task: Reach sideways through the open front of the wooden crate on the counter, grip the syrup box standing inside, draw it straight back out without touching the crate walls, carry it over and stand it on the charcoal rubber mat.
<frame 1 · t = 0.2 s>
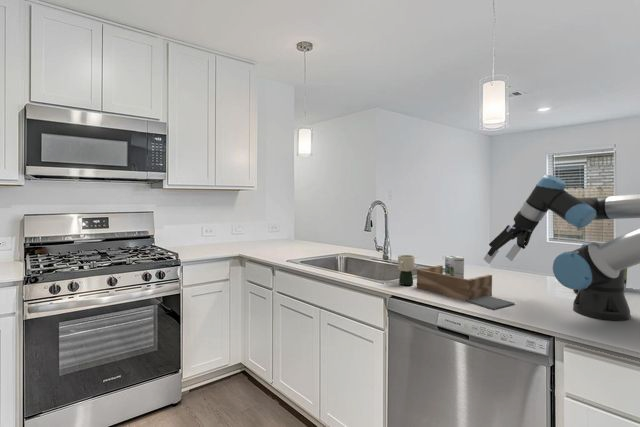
hand: (497, 259, 138), 15 cm above the worktop, tool tilted 35°, fingers open, 13 cm apart
syrup box: (453, 291, 149), on the worktop
bread roll: (588, 294, 143), on the worktop
character mug: (406, 285, 160), on the worktop
wooden crate: (453, 290, 149), on the worktop
mat: (489, 302, 132), on the worktop
tea box: (599, 288, 152), on the worktop
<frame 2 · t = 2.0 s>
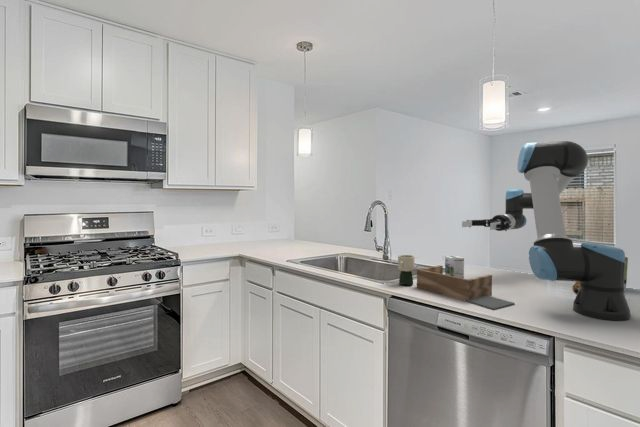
hand: (476, 225, 157), 27 cm above the worktop, tool horizontal, fingers open, 13 cm apart
nothing on the worktop moved.
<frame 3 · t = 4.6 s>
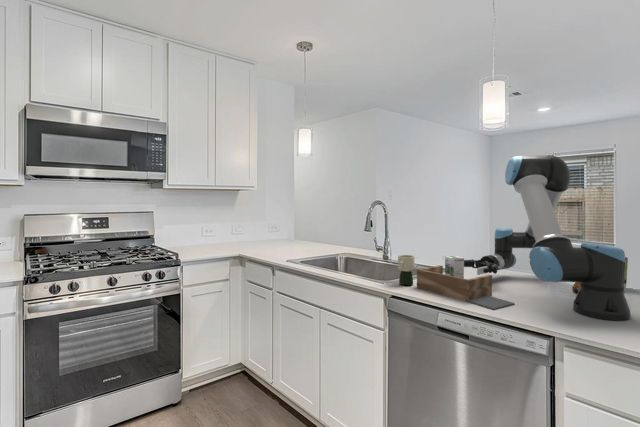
hand: (463, 268, 153), 8 cm above the worktop, tool horizontal, fingers open, 13 cm apart
nothing on the worktop moved.
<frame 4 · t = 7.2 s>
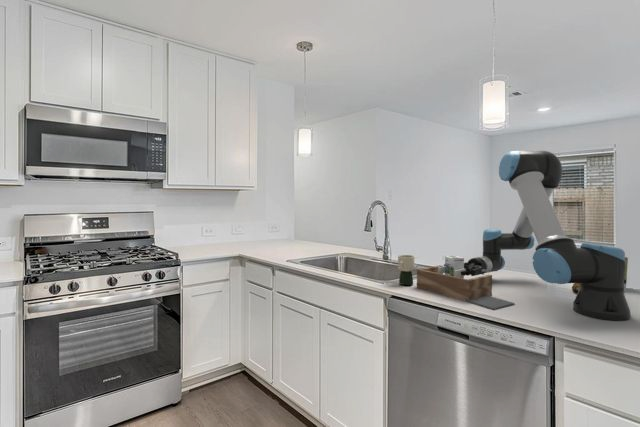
hand: (446, 272, 146), 9 cm above the worktop, tool horizontal, fingers closed on syrup box, 7 cm apart
syrup box: (453, 291, 149), on the worktop, touching gripper
everything else where it was.
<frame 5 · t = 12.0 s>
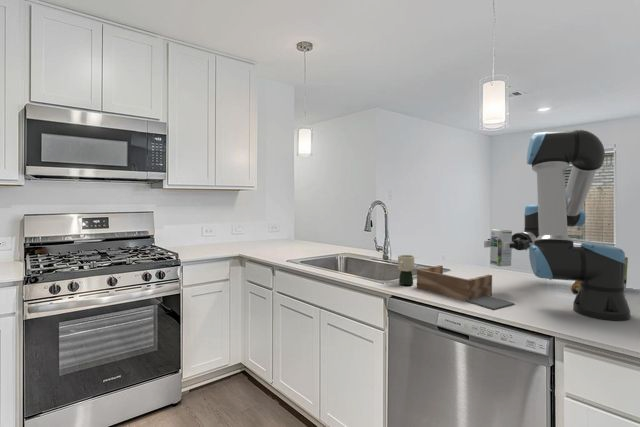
hand: (494, 245, 141), 20 cm above the worktop, tool horizontal, fingers closed on syrup box, 7 cm apart
syrup box: (500, 265, 144), point 11 cm above the worktop, touching gripper
everything else where it was.
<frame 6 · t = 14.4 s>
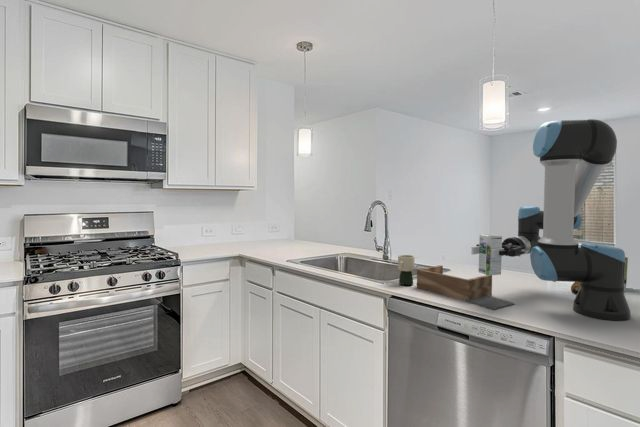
hand: (482, 252, 129), 19 cm above the worktop, tool horizontal, fingers closed on syrup box, 7 cm apart
syrup box: (489, 274, 132), point 11 cm above the worktop, touching gripper
when the fingers open (10 cm above the worktop, at t = 16.8 s): syrup box drops 1 cm, resting on mat.
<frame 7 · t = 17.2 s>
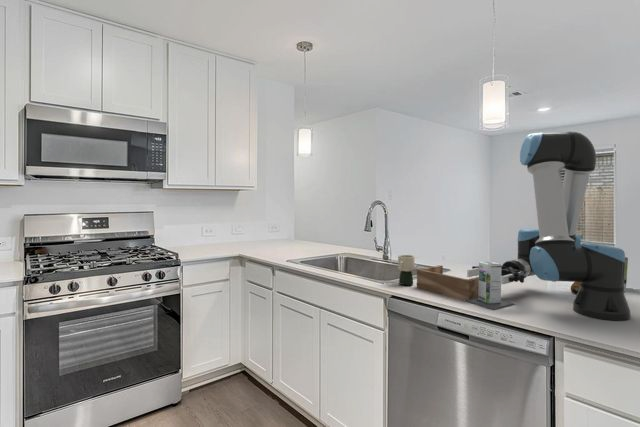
hand: (484, 276, 130), 10 cm above the worktop, tool horizontal, fingers open, 13 cm apart
syrup box: (489, 301, 132), resting on mat
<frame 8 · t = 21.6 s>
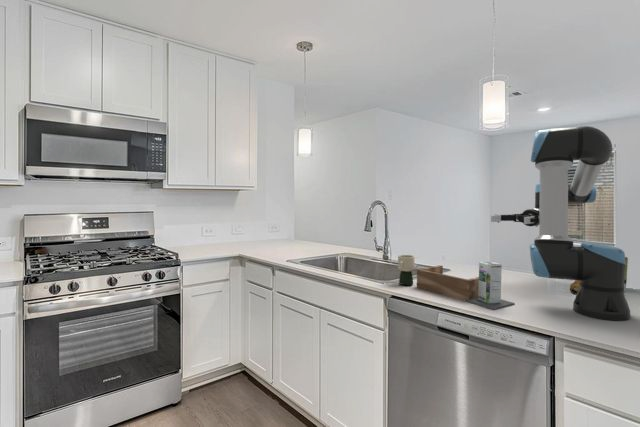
hand: (507, 219, 145), 30 cm above the worktop, tool horizontal, fingers open, 13 cm apart
at the end: syrup box inside the target area on the mat (0.1 cm from its centre), point 0.4 cm above the mat's base; syrup box tilted 0°; the gripper is holding nothing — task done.
